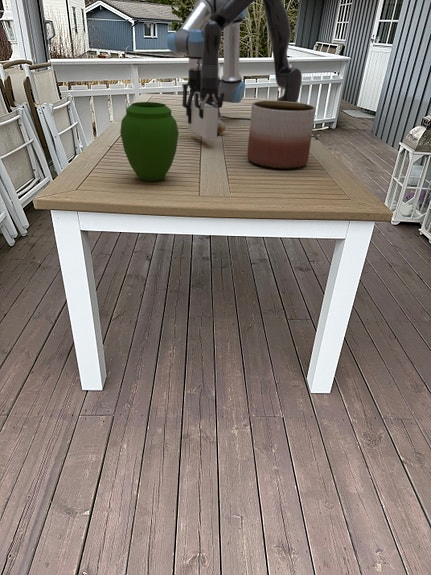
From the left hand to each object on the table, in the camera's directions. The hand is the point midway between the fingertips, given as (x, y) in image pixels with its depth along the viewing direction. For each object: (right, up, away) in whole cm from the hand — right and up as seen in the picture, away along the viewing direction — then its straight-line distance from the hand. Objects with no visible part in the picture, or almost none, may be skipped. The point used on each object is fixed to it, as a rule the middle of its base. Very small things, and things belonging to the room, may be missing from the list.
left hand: (195, 122), depth 199 cm
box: (+3, -7, -4) cm, 9 cm away
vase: (-13, -41, -53) cm, 68 cm away
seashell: (+10, 0, +14) cm, 17 cm away
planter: (+35, -27, -27) cm, 52 cm away
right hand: (+6, -4, -15) cm, 17 cm away
